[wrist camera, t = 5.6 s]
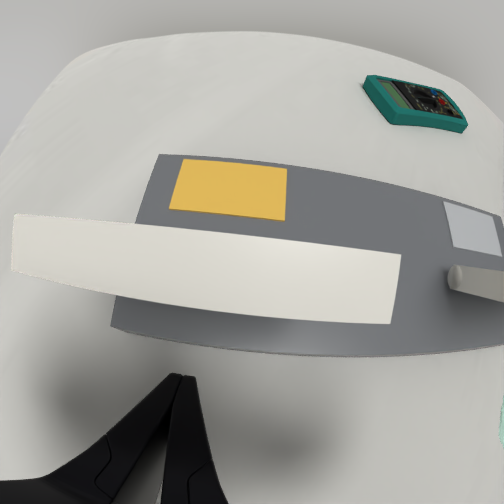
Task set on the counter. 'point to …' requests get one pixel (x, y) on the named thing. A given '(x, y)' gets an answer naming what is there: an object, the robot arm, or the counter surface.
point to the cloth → (502, 425)
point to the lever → (477, 281)
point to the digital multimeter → (414, 104)
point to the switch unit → (328, 233)
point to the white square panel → (209, 269)
